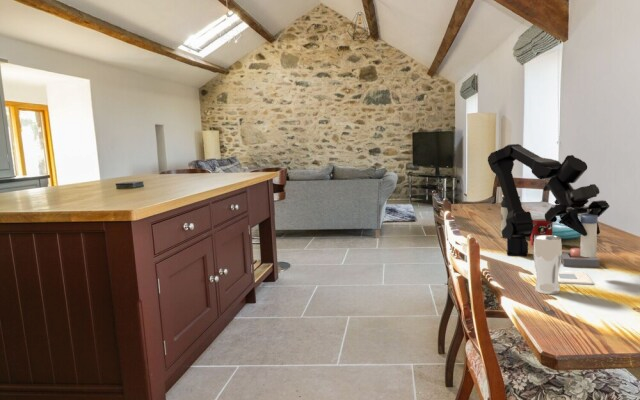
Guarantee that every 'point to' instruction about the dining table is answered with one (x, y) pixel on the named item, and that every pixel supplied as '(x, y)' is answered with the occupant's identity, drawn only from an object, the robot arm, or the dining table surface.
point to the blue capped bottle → (589, 235)
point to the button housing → (579, 261)
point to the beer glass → (547, 263)
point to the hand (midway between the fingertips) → (592, 234)
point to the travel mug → (504, 213)
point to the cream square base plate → (573, 278)
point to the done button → (576, 253)
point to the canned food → (540, 227)
